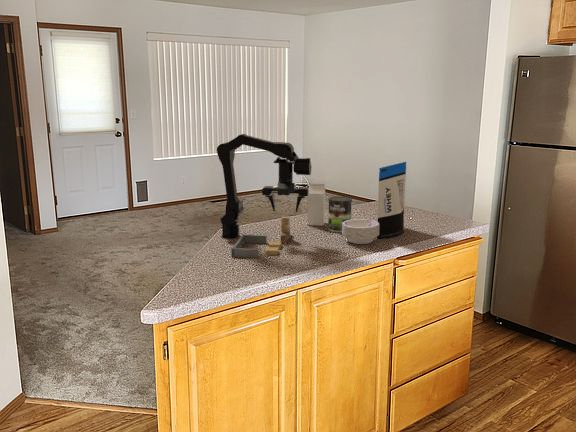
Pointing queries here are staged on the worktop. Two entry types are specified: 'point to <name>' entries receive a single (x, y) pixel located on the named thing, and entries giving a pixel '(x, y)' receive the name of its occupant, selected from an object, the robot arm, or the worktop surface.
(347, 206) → the coffee can
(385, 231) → the protein powder
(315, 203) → the milk carton
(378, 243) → the worktop surface
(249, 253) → the tray
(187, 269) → the worktop surface
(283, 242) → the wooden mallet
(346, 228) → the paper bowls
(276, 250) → the chip
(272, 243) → the tan square block
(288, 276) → the worktop surface
